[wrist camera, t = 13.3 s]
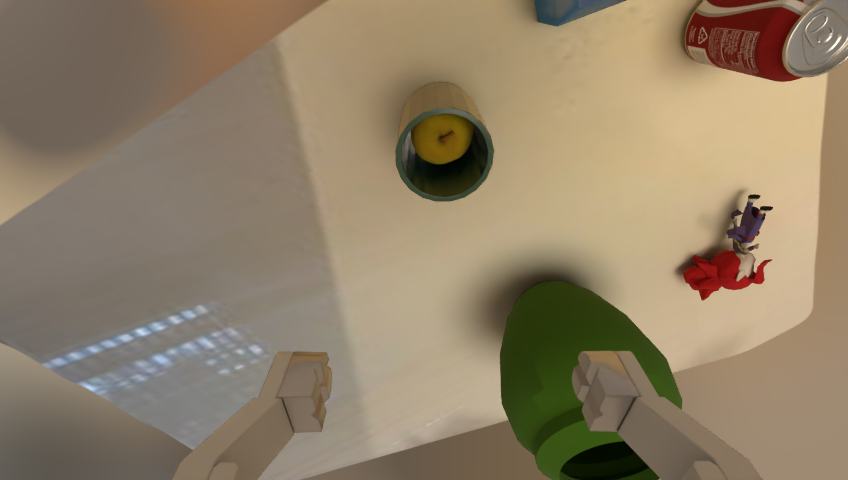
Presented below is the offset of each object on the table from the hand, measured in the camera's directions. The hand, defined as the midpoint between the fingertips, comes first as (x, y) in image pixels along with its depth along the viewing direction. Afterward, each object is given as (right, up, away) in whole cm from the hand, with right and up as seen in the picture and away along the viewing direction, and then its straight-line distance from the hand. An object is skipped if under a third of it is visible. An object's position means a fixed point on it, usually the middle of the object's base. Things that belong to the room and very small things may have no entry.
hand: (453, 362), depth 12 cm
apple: (+1, +18, +29) cm, 34 cm away
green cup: (+1, +17, +29) cm, 34 cm away
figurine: (+39, +4, +39) cm, 55 cm away
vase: (+18, -5, +45) cm, 49 cm away
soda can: (+28, +25, +24) cm, 45 cm away
